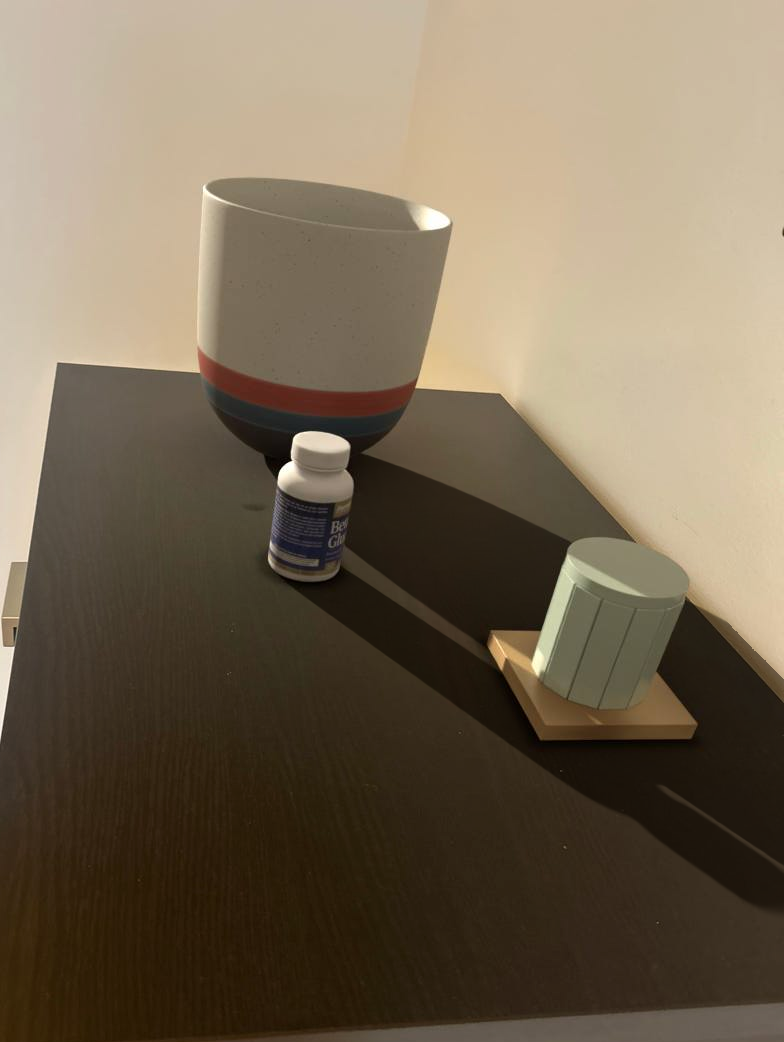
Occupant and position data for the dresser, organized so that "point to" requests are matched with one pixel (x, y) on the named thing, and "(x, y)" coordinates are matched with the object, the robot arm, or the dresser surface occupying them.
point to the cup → (609, 622)
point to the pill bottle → (311, 508)
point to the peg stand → (577, 721)
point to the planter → (314, 308)
